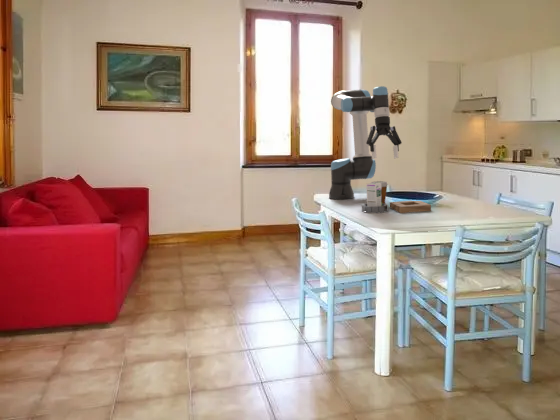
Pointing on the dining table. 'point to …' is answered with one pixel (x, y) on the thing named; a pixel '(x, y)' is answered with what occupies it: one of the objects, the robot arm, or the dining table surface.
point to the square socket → (410, 206)
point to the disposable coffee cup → (383, 190)
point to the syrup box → (374, 194)
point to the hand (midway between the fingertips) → (385, 158)
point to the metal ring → (374, 208)
